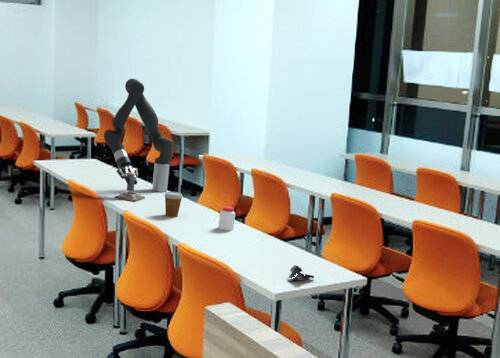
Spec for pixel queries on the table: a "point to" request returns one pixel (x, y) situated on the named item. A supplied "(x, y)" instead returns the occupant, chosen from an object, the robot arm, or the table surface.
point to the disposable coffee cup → (172, 203)
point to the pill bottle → (226, 218)
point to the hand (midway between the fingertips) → (132, 183)
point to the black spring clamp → (300, 276)
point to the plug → (132, 179)
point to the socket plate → (130, 196)
